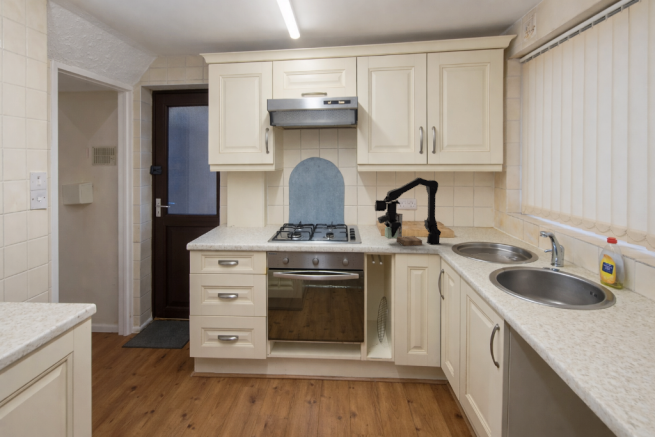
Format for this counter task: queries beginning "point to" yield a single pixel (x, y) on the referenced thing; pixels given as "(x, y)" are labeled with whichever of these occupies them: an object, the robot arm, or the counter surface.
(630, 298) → the counter surface
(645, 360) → the counter surface
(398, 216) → the coffee box
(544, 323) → the counter surface
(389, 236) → the cube
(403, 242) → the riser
